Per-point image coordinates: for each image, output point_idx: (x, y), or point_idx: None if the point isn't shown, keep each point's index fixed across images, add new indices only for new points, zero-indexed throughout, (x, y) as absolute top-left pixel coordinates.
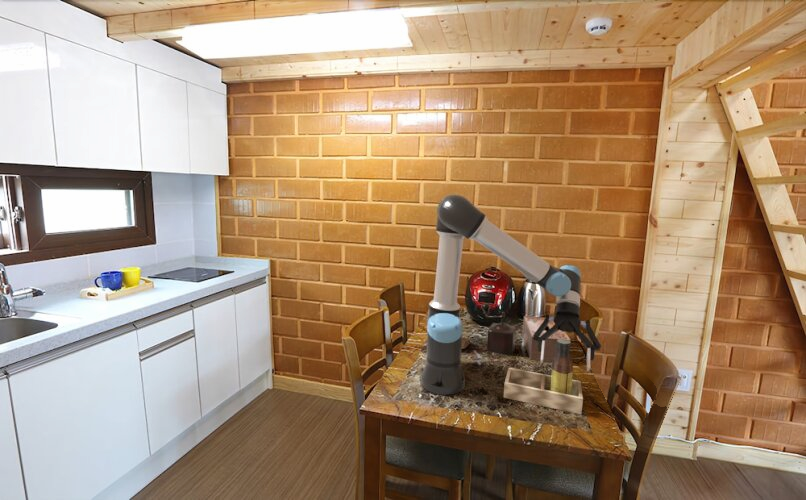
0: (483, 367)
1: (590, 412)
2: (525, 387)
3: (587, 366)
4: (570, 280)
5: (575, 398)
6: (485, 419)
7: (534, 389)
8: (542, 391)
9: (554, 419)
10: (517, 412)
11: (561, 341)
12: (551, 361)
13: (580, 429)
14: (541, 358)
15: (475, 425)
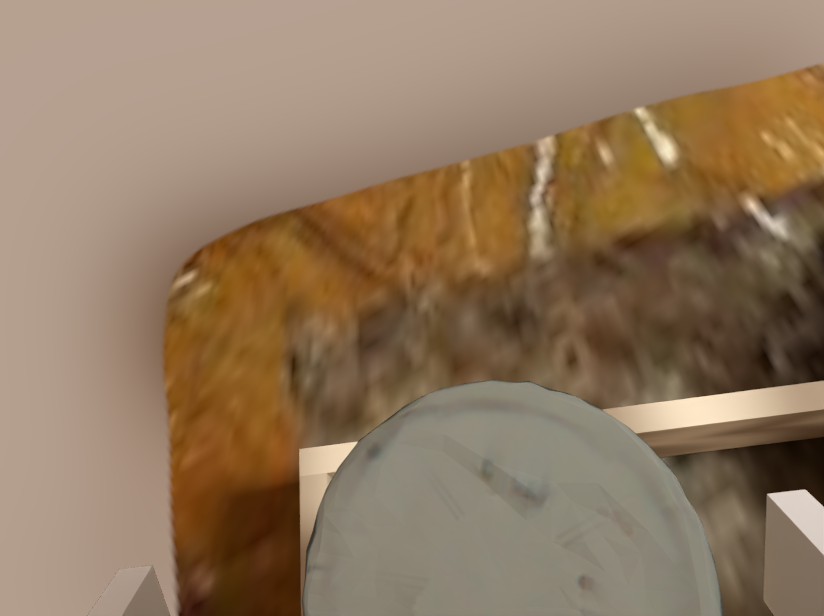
0: None
1: (273, 539)
2: (749, 391)
3: (146, 586)
4: None
5: (354, 444)
6: (799, 142)
7: (672, 401)
8: (605, 409)
9: (477, 331)
10: (687, 286)
11: (566, 498)
12: None
13: (338, 313)
14: (801, 501)
15: (809, 82)
